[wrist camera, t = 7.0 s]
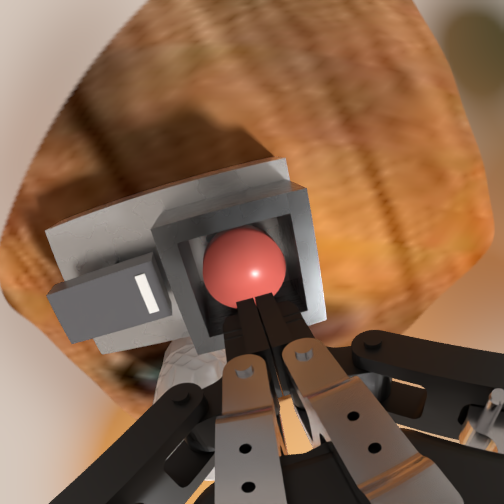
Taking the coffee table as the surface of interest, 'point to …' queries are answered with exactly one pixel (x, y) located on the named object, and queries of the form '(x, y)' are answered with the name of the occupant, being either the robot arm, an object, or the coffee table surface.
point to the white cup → (189, 370)
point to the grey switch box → (196, 246)
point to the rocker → (111, 299)
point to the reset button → (242, 265)
